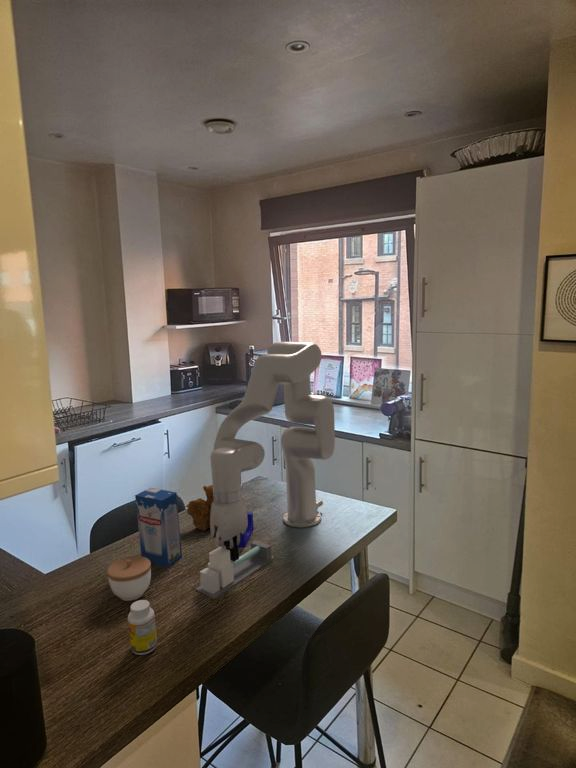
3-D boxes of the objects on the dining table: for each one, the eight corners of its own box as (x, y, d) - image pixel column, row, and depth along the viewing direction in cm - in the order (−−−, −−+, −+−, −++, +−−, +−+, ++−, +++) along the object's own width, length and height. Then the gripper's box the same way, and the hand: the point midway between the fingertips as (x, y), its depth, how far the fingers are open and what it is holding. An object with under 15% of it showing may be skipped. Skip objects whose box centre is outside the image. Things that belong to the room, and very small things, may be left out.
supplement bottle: (132, 641, 115) (127, 599, 113) (158, 637, 116) (154, 595, 114) (129, 658, 109) (125, 614, 108) (156, 653, 110) (152, 610, 109)
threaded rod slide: (256, 551, 152) (255, 534, 151) (275, 558, 148) (274, 541, 147) (195, 589, 134) (193, 571, 133) (214, 598, 129) (213, 579, 129)
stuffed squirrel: (236, 523, 171) (234, 486, 169) (198, 537, 163) (195, 497, 161) (221, 514, 179) (218, 478, 177) (184, 526, 171) (181, 489, 169)
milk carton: (141, 560, 150) (134, 495, 147) (156, 550, 156) (150, 487, 152) (168, 567, 146) (162, 500, 142) (182, 557, 151) (176, 492, 147)
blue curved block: (240, 529, 167) (238, 512, 166) (253, 529, 167) (252, 512, 166) (230, 547, 156) (229, 529, 155) (245, 548, 155) (244, 529, 154)
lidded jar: (109, 588, 136) (105, 555, 135) (151, 578, 140) (147, 546, 138) (110, 610, 127) (106, 575, 125) (155, 599, 130) (152, 565, 129)
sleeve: (220, 574, 139) (217, 545, 138) (234, 580, 136) (231, 551, 135) (209, 581, 136) (206, 552, 135) (223, 587, 133) (220, 557, 132)
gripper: (237, 482, 144) (241, 543, 147) (196, 501, 132) (202, 567, 136) (257, 488, 139) (261, 551, 142) (217, 508, 128) (223, 576, 131)
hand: (232, 558), depth 139 cm, fingers closed
